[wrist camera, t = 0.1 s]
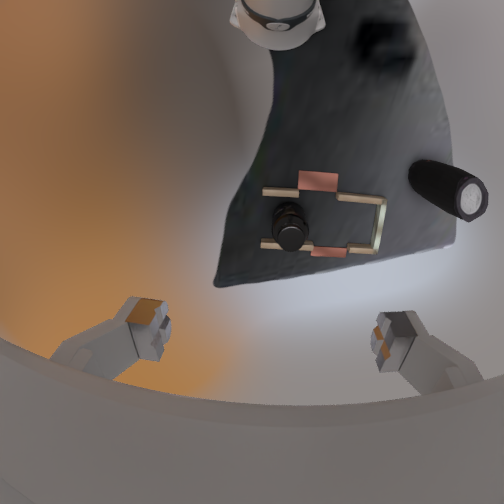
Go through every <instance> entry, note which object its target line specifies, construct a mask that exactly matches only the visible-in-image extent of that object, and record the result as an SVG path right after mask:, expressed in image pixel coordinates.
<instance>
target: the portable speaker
mask: <svg viewBox="0 0 504 504" xmlns="http://www.w3.org/2000/svg"><path fill="white" fill-rule="evenodd" d="M408 179H409V181H410V183H411V185H412V187H413V189H414V190H415V191H416V192H417V193H418V194H420V195H421V196H422V197H424V198H425V199H427V200H428V201H429V202H431V203H433V204H434V205H436V206H438V207H439V208H441V209H442V210H444V211H446V212H447V213H449V214H452V215H454V216H456V217H458V218H460V219H463V220H465V221H467V222H471V221H473V220H474V219H476V218H478V217H479V216H481V215H482V214H483V213H485V211H486V208H487V206H488V192H487V189H486V188H485V186H484V184H483V182H482V181H481V180H480V179H478V178H477V177H475V176H473V175H472V174H470V173H468V172H466V171H464V170H462V169H459V168H457V167H454V166H450V165H447V164H444V163H440V162H437V161H431V160H420V161H418V162H416V163H413V165H412V166H411V168H410V169H409V177H408Z"/></svg>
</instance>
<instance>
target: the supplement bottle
mask: <svg viewBox="0 0 504 504" xmlns="http://www.w3.org/2000/svg"><path fill="white" fill-rule="evenodd" d="M272 235H273V238H274V240H275V241H276V243H277V244H279V246H280V247H281V248H282V249H283V250H285V251H288V252H294V251H297V250H299V249H301V247H302V246H303V245H304V242H305V241H306V240H307V238H308V235H309V227H308V223H307V219H306V216H305V213H304V211H303V209H302V208H301V207H300V206H299V205H297V204H295V203H292V202H286V203H283V204H281V205H279V206H278V207H277V208H276V209H275V211H274V213H273V221H272Z"/></svg>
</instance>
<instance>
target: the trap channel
mask: <svg viewBox="0 0 504 504" xmlns="http://www.w3.org/2000/svg"><path fill="white" fill-rule="evenodd" d="M337 182H338V174H336V173H325V172H313V171H300V170H299V180H298V189H304V190H318V191H330V192H336V198H337V200H340V201H351V202H361V203H371V204H377V207H376V214H375V220H374V226H373V231H372V237H371V242H370V244H357V243H347V248H340V247H322V246H314V245H313V242H312V241H305V242H304V245H303V246H302V247H301V249H299V250H309V251H311V256H328V257H346V251H347V250H348V251H349V253H364V254H377V253H378V248H379V244H380V239H381V233H382V228H383V223H384V217H385V211H386V205H387V199H386V198H384V197H382V196H374V195H364V194H355V193H345V192H337ZM298 189H293V188H276V187H263V196H283V197H299V190H298ZM261 248H270V249H282V248H281V247H280V246H279V244H277V243H276V241H275V240H274V239H269V238H261Z"/></svg>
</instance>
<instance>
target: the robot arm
mask: <svg viewBox="0 0 504 504" xmlns="http://www.w3.org/2000/svg"><path fill="white" fill-rule="evenodd" d="M235 16H236V17H235ZM319 19H320V20H319ZM230 23H231V24H232V25H233V26H234V27H236V28H238V29H240V30H242V31H243V32H244V34H245V35H246V36H247V37H248V38H249V39H250V40H251V41H252V42H253V43H255V44H257V45H258V46H261V47H263V48H266V49H270V50H289V49H293V48H296V47H298V46H300V45H302V44H303V43H304V42H306V41H307V40H308V39H309V38H310V36H311V35H312V34H314V33H315V32H318V31H320V30H322V29H324V28H325V20H324V16H323V13H322V9H321V6H320V3H319V0H235V4H234V7H233V10H232V14H231V17H230ZM167 312H168V305H167V303H166V301H162V300H155V299H148V298H140V297H133V296H132V297H129V298H128V299H127V301H126V302H125V303H124V305H123V306H122V307H121V309H120V310H119V311H118V313H117V314H116V316H115V317H114V318H113V320H111V319H109V320H106V321H104V322H102V323H100V324H98V325H96V326H94V327H92V328H90V329H88V330H86V331H84V332H82V333H79V334H77V335H75V336H73V337H71V338H69V339H67V340H65V341H63V342H62V343H61V345H60V346H59V347H58V348H57V350H56V351H55V352H54V354H53V355H52V356H51V358H50V359H47V358H44V357H42V356H39V355H37V354H34V353H32V352H30V351H28V350H25V349H23V348H21V347H19V346H16V345H14V344H12V343H10V342H8V341H6V340H4V339H2V338H0V504H504V374H503V375H500V376H497V377H494V378H490V379H487V380H484V379H483V377H482V375H481V374H480V372H479V370H478V368H477V367H476V365H475V364H474V362H473V361H472V360H470V359H469V358H467V357H466V356H464V355H463V354H461V353H459V352H458V351H456V350H455V349H453V348H452V347H450V346H448V345H447V344H446V343H444V342H442V341H441V340H439V339H438V338H436V337H435V336H433V335H429V334H428V332H427V330H426V329H425V327H424V325H423V323H422V322H421V320H420V319H419V317H418V315H417V314H416V312H415V311H402V312H380V313H379V315H378V317H377V320H376V321H377V323H378V326H376V327H375V328H374V329H373V332H372V335H371V348H372V351H373V353H374V354H376V355H377V358H376V363H377V366H378V369H379V372H396V371H399V373H400V374H401V375H402V376H403V377H404V378H405V379H406V380H407V381H408V382H409V383H410V384H411V385H412V386H413V387H414V388H415V389H416V390H417V391H418V392H419V393H420V394H421V396H415V397H409V398H402V399H395V400H387V401H379V402H370V403H358V404H343V405H314V406H292V405H263V404H248V403H235V402H225V401H216V400H208V399H200V398H194V397H187V396H181V395H176V394H170V393H165V392H160V391H155V390H150V389H145V388H141V387H136V386H132V385H128V384H124V383H121V382H117V381H113V380H112V379H114V378H115V377H117V376H118V375H119V374H121V373H122V372H123V371H125V370H126V369H127V368H129V367H130V366H131V365H133V364H134V363H135V362H137V361H138V360H139V359H145V360H151V361H157V362H159V361H160V358H161V356H162V354H163V352H164V346H163V345H164V344H165V343H167V342H168V340H169V338H170V334H171V321H170V318H169V317H168V316H167V315H166V314H167Z"/></svg>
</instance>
